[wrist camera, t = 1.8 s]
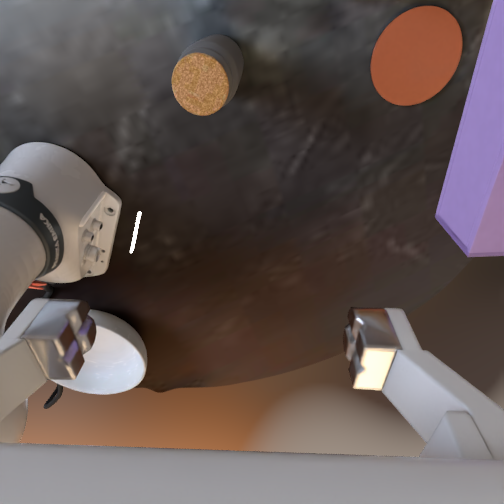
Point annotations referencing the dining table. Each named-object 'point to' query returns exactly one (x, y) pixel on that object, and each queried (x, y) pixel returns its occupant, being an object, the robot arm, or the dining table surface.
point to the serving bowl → (111, 358)
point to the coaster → (416, 55)
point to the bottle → (207, 74)
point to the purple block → (479, 154)
